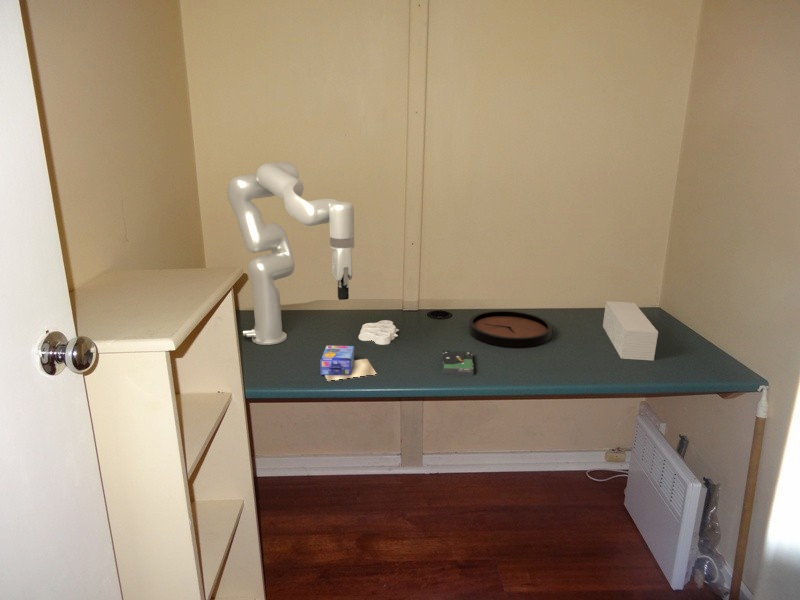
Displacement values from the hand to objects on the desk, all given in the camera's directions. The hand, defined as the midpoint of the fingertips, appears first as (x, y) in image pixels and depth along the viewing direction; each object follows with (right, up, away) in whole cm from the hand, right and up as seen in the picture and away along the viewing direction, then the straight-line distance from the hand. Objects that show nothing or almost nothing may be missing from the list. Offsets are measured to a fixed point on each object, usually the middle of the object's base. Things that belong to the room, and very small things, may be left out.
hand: (343, 298), depth 174 cm
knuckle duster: (+11, -14, +33) cm, 38 cm away
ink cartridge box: (-2, -18, +10) cm, 21 cm away
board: (+1, -23, +3) cm, 24 cm away
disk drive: (+37, -23, +8) cm, 45 cm away
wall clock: (+60, -14, +37) cm, 72 cm away
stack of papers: (+102, -16, +28) cm, 107 cm away
